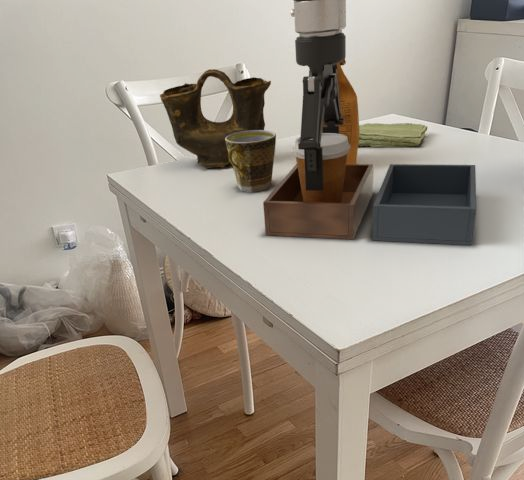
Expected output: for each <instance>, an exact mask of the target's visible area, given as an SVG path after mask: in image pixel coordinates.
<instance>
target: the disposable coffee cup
mask: <svg viewBox="0 0 524 480" xmlns="http://www.w3.org/2000/svg"><path fill="white" fill-rule="evenodd" d="M294 141H295V142H294V147H293V148H292V152H293V153H294V156H295V159H296V164H297V166H298V172H299V178H300V184H301V191H302V197H303V202H320V203H341V200H342V192H343V184H344V177H345V169H346V162H347V153H348V152H349V149H350V147H351V146H350V144H349V143H348V138H347V136H345V135H342V134H336V133H322V136H321V147H322V156H323V190H322V191H317V190H306V181H305V158H304V149H299V148H298V143H300V137H298V138H296V139H295V140H294Z"/></svg>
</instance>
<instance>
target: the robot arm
mask: <svg viewBox="0 0 524 480" xmlns="http://www.w3.org/2000/svg"><path fill="white" fill-rule="evenodd" d="M290 16H291V17H292V18H294V32H295V33H297V34H298V35H299V36H297V37H296V39H295V40H294V47H295V63H296V64H297V66H300V67H301V66H302V67H308V69H309V70H308V76H303V78H302V105H301V106H302V108H301V121H300V136H299V138H300V143H298V148H299V149H304V158H305V181H306V190H317V191H322V190H323V156H322V147H321V136H322V128H323V133H336V134H339V126H337V125H343V123H344V118H341V116H342V114H341V107H340V97H339V87H338V78H337V68H338V66H337V63H340V62H342V61H344V60H345V61H346V58H347V57H346V56H347V55H346V54H347V53H346V51H347V49H346V46H347V45H346V42H347V41H346V34H345V33H344V32H343V30H344V29H345V28H346V27H347V0H293V8H292V9H291V10H290ZM323 120H324V124H325V125H327V126H326V127H323Z"/></svg>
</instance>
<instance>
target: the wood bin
mask: <svg viewBox="0 0 524 480" xmlns="http://www.w3.org/2000/svg"><path fill="white" fill-rule="evenodd" d="M374 168H375V164H374V163H356V164H346V169H345V177H344V184H343V192H342V200H341V203H320V202H303V197H302V191H301V184H300V178H299V172H298V166H297V163H296V164H295V165H294V166H293V167H292V168H291V169H290V170H289V172H288V173H287V174H286V175H285V177H284V178H282V180H281V181H280V182H279V184H277V186H275V188H274V190H272V191H271V192H270V194H269V195H268V196H267V197H266V198H265V199H264V201H262V202H263V203H262V206H263V215H264V216H263V217H264V229H265V230H264V231H265V236H275V237H276V236H277V237H278V236H279V237H295V238H296V237H298V238H318V239H337V240H338V239H339V240H355V237H356V234H357V231H358V230H359V226H360V225H361V223H362V220H363V219H364V218H363V217H364V215H365V213H366V210H367V208H368V206H369V203H370V201H371V198H372V196H373V194H374V170H375V169H374Z"/></svg>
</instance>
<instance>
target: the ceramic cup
mask: <svg viewBox="0 0 524 480" xmlns="http://www.w3.org/2000/svg"><path fill="white" fill-rule="evenodd" d="M225 141H226V145H227V149H228V153H229V161H230V162H229V164H231V165H232V168H233V172H234V176H235V179H236V184H237V186H238V188H239V189H240V191H241V192H245V193H246V192H247V193H254V192H261V191H265V190H267V189H269V188H270V187H271V186H272V181H273V170H274V162H275V161H274V159H275V154H276V145H277V144H276V142H277V134H276V133H275V132H274V131H271V130H266V129H264V130H250V131H243V132H238V133H234V134H231V135H229V136H227V137H226V138H225Z"/></svg>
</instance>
